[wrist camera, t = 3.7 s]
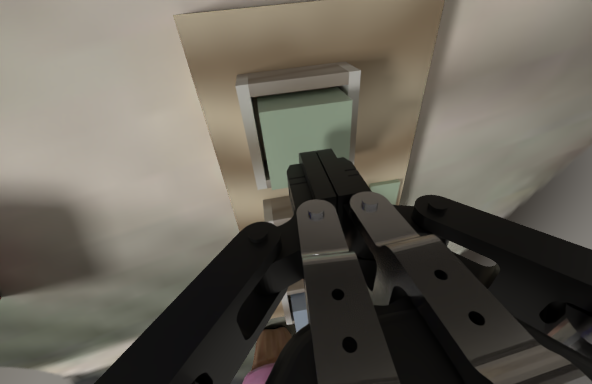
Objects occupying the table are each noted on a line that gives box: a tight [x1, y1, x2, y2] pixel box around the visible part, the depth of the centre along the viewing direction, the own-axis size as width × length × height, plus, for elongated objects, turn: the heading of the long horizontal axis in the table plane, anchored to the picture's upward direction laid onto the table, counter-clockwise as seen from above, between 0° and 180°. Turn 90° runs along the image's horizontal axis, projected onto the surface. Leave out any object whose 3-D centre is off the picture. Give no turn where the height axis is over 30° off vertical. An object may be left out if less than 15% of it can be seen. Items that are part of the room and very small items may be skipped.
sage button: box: [257, 87, 353, 190], centre depth 14 cm, size 4×4×2 cm
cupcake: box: [243, 327, 292, 384], centre depth 33 cm, size 9×9×10 cm
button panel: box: [173, 0, 445, 325], centre depth 21 cm, size 30×14×4 cm, turn 5°
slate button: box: [290, 292, 308, 333], centre depth 25 cm, size 4×4×2 cm
